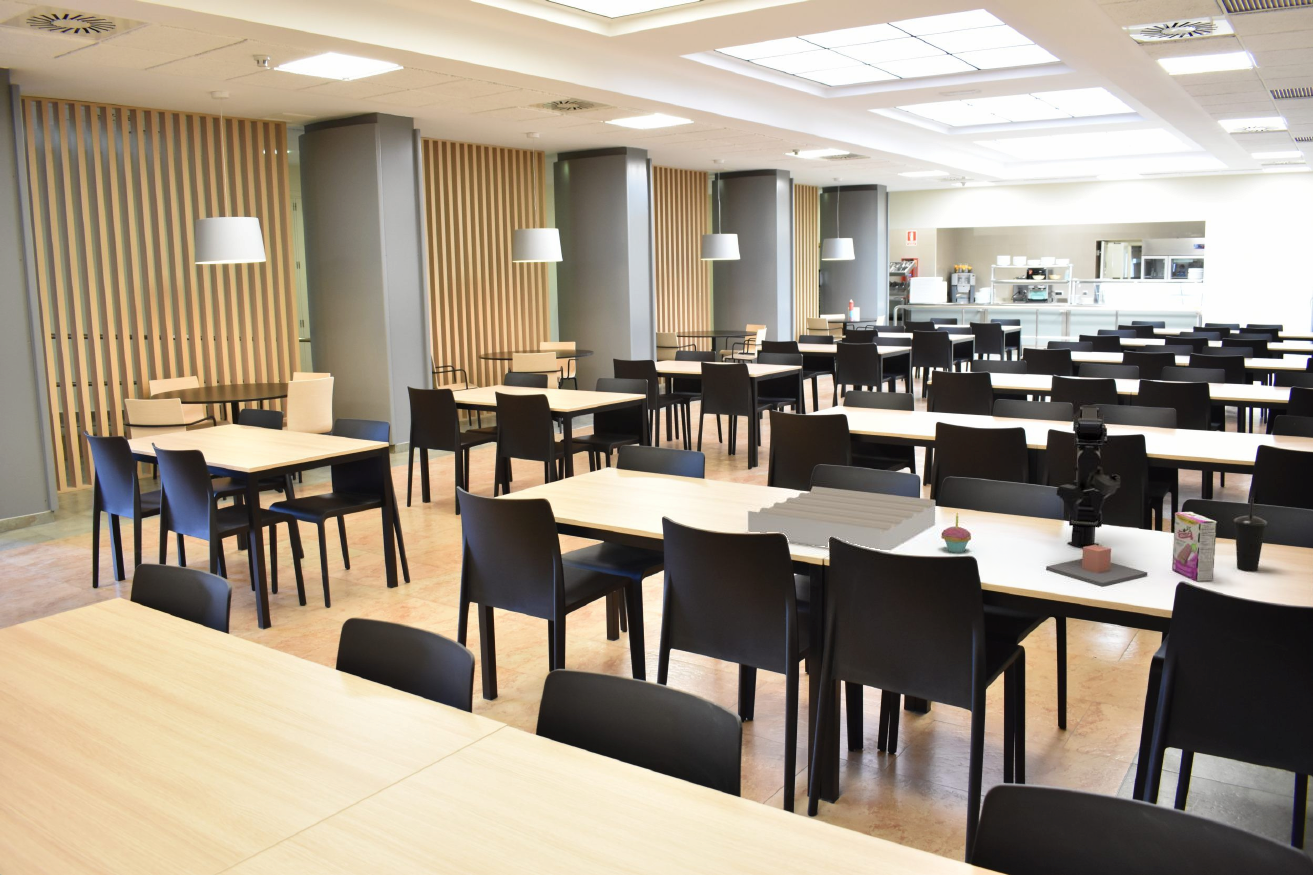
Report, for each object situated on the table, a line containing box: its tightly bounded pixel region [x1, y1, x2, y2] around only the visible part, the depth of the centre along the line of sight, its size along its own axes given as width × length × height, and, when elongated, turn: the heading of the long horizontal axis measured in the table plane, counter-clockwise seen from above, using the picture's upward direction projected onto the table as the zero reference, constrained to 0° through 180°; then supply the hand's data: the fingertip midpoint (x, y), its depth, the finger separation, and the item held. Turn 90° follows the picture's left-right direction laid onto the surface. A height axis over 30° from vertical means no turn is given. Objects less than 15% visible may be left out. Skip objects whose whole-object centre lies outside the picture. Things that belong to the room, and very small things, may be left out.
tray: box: [747, 486, 936, 551], centre depth 318 cm, size 45×45×9 cm
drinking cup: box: [1233, 497, 1268, 572], centre depth 266 cm, size 8×8×20 cm
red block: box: [1081, 544, 1112, 573], centre depth 266 cm, size 5×5×6 cm
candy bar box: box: [1171, 511, 1218, 583], centre depth 261 cm, size 11×5×16 cm, turn 5°
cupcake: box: [940, 512, 972, 553], centre depth 291 cm, size 9×8×12 cm
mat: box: [1045, 558, 1148, 587], centre depth 267 cm, size 18×18×1 cm
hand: (1085, 517), depth 277 cm, fingers open, 9 cm apart
